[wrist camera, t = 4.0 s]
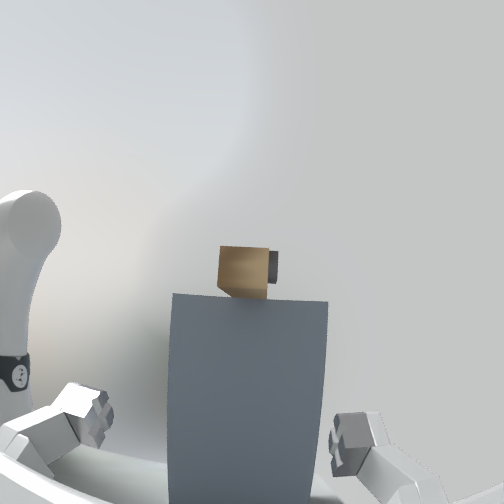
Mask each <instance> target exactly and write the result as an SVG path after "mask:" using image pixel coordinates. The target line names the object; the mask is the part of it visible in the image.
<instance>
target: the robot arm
mask: <svg viewBox="0 0 504 504" xmlns="http://www.w3.org/2000/svg"><path fill="white" fill-rule="evenodd" d="M60 233H61V219H60V214H59V211H58V208H57V206H56V205H55V203H54V202H53V201H52V199H51V198H50V197H48V196H47V195H46V194H43V193H41V192H38V191H17V192H14V193H12V194H10V195H8V196H6V197H4V198H3V199H1V200H0V504H113V503H110V502H107V501H104V500H101V499H98V498H96V497H93V496H90V495H88V494H85V493H82V492H80V491H77V490H75V489H73V488H70V487H68V486H66V485H63V484H61V483H59V482H57V481H55V480H53V479H54V474H53V473H52V471H51V470H50V469H49V467H48V465H49V464H51V463H52V462H54V461H55V460H57V459H59V458H60V457H62V456H63V455H65V454H66V453H68V452H69V451H71V450H72V449H74V448H75V447H77V446H79V445H80V443H81V444H84V445H87V446H91V447H94V448H97V449H99V448H100V446H101V444H102V442H103V440H104V439H105V434H104V432H105V431H106V430H108V429H110V427H111V425H112V423H113V418H114V414H113V409H112V407H111V405H110V404H109V403H108V402H107V400H108V399H109V397H108V395H107V392H106V391H103V390H99V389H96V388H93V387H89V386H86V385H83V384H79V383H75V382H70V383H68V385H67V386H66V387H65V388H64V390H63V391H62V392H61V393H60V395H59V396H58V397H57V399H56V400H55V401H54V403H53V404H52V405H51V406H46V407H43V408H41V409H39V410H36V411H34V407H33V402H32V396H31V390H30V384H29V375H30V358H29V354H28V352H27V341H28V340H27V339H28V321H29V310H30V304H31V300H32V296H33V292H34V289H35V286H36V283H37V280H38V277H39V274H40V272H41V269H42V266H43V264H44V262H45V260H46V258H47V256H48V255H49V254H50V253H51V251H52V250H53V249H54V248H55V246H56V244H57V242H58V240H59V237H60ZM329 453H330V454H331V455H332V456H333V458H332V461H331V467H332V473H333V477H343V476H356V477H357V478H358V479H359V480H360V481H361V482H362V483H363V485H364V486H365V487H366V488H367V489H368V490H369V491H370V492H371V493H372V494H373V495H374V496H375V497H376V498H377V500H378V501H379V502H380V503H381V504H449V502H448V499H447V496H446V494H445V491H444V488H443V485H442V483H441V480H440V477H439V476H438V475H436V474H435V473H433V472H432V471H431V470H429V469H428V468H426V467H425V466H424V465H422V464H421V463H420V462H418V461H417V460H415V459H414V458H412V457H411V456H410V455H409V454H407V453H406V452H404V451H403V450H402V449H400V448H399V447H398V446H397V445H395V444H390V441H389V438H388V435H387V432H386V429H385V426H384V423H383V420H382V417H381V415H380V413H379V412H378V411H372V412H358V413H342V414H336V416H335V418H334V427H333V428H332V429H331V431H330V434H329ZM450 504H504V482H502V483H500V484H497V485H495V486H493V487H491V488H488V489H486V490H484V491H482V492H479V493H477V494H474V495H472V496H469V497H466V498H464V499H461V500H458V501H456V502H452V503H450Z"/></svg>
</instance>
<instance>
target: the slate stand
mask: <svg viewBox="0 0 504 504" xmlns="http://www.w3.org/2000/svg"><path fill="white" fill-rule="evenodd" d="M327 320H328V302H320V301H292V300H269V299H249V298H232V297H216V296H202V295H188V294H175V293H173V298H172V311H171V325H170V326H171V327H170V342H169V363H168V392H167V393H168V394H167V464H168V491H169V504H309V498H310V492H311V486H312V480H313V473H314V466H315V458H316V451H317V443H318V435H319V426H320V417H321V407H322V396H323V385H324V372H325V358H326V342H327V323H328V321H327Z"/></svg>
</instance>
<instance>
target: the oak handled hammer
mask: <svg viewBox="0 0 504 504" xmlns="http://www.w3.org/2000/svg"><path fill="white" fill-rule="evenodd" d="M277 272H278V251H269V248H252V247H232V246H220V255H219V269H218V281H217V286H218V287H219V288H220V289H221V290H223V291H224V292H225V293H227V294H228V295H230V296H231V297H233V298H249V299H267V284H268V283H272V284H276V282H277Z"/></svg>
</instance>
